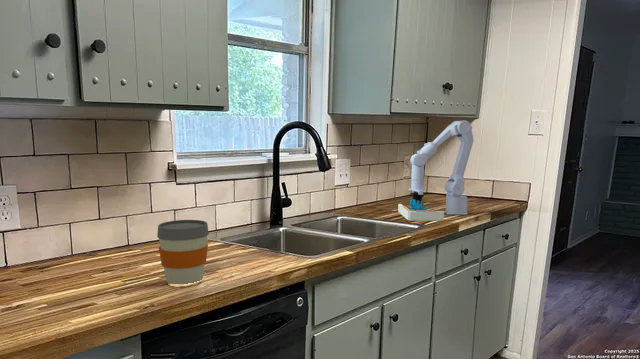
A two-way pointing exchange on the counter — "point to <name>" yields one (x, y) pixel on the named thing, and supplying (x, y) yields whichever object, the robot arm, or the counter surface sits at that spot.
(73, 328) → the counter surface
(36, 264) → the counter surface
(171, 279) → the reusable coffee cup
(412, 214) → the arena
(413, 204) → the blue toy dinosaur
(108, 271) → the counter surface
